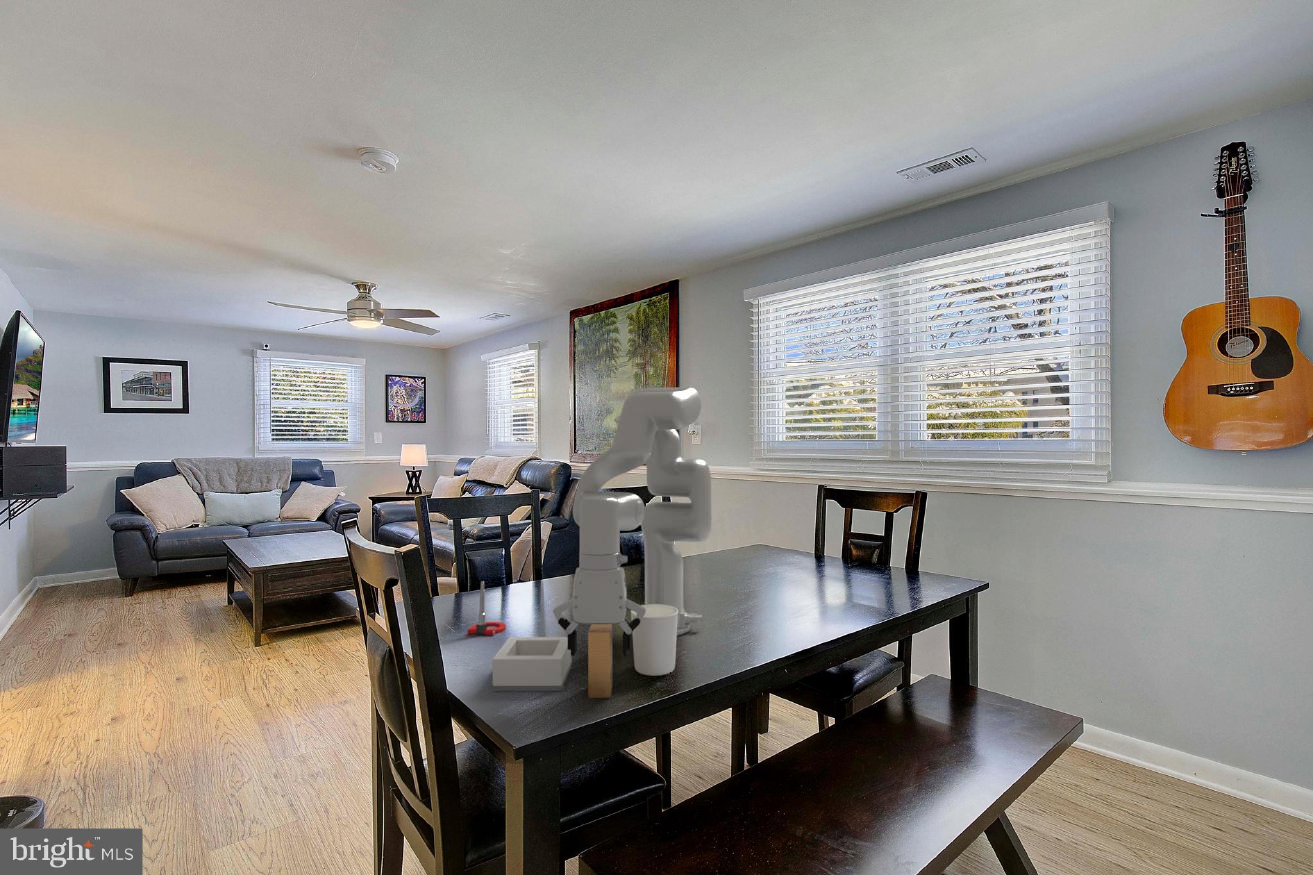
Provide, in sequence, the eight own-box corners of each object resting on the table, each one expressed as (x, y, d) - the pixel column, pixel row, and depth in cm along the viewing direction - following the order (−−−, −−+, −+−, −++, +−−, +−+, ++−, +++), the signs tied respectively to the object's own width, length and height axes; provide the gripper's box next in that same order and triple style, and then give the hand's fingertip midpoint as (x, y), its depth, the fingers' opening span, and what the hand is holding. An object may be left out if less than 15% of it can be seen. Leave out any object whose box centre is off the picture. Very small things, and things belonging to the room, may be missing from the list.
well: (571, 665, 130) (571, 637, 130) (561, 690, 117) (561, 659, 117) (509, 665, 131) (509, 637, 131) (492, 690, 118) (492, 659, 118)
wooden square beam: (612, 686, 119) (612, 624, 119) (610, 697, 114) (609, 632, 114) (591, 686, 119) (591, 624, 119) (588, 697, 114) (588, 632, 114)
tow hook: (480, 625, 160) (463, 635, 151) (481, 575, 161) (464, 581, 152) (511, 627, 159) (496, 636, 150) (512, 576, 160) (497, 582, 151)
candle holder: (630, 660, 133) (629, 604, 133) (675, 659, 134) (675, 603, 134) (632, 678, 123) (631, 617, 123) (681, 676, 124) (680, 616, 124)
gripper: (646, 558, 120) (646, 647, 120) (557, 558, 121) (556, 647, 120) (645, 565, 113) (645, 660, 112) (550, 565, 113) (549, 660, 113)
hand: (599, 653), depth 116 cm, fingers open, 9 cm apart
